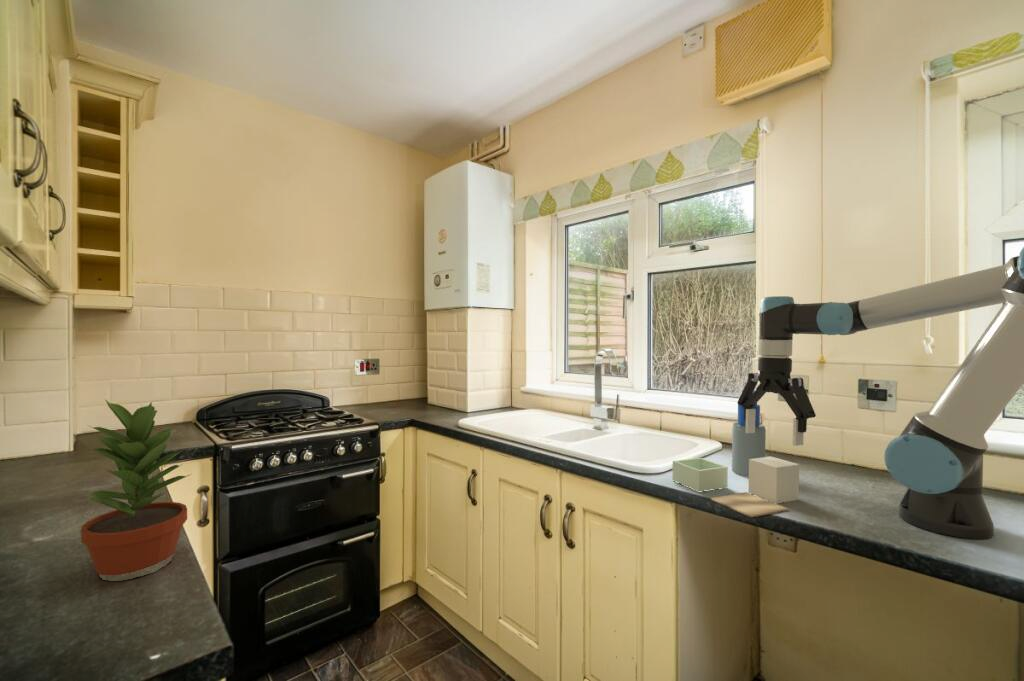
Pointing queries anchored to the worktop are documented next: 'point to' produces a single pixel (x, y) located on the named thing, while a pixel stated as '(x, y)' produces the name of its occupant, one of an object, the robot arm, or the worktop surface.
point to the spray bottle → (747, 442)
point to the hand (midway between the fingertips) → (772, 438)
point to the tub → (700, 474)
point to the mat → (749, 504)
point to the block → (774, 479)
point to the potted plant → (134, 499)
